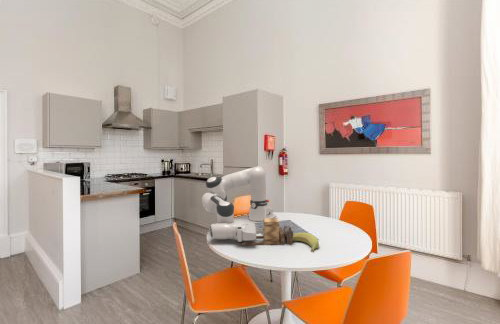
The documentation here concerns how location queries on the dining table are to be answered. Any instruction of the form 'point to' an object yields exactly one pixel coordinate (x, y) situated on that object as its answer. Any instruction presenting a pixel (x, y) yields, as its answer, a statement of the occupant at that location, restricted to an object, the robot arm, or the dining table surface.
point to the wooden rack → (282, 235)
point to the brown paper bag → (271, 229)
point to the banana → (307, 239)
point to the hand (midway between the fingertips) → (263, 230)
